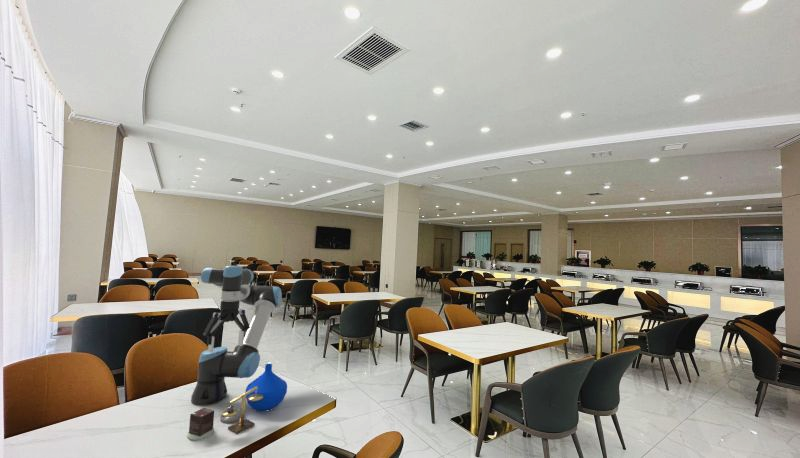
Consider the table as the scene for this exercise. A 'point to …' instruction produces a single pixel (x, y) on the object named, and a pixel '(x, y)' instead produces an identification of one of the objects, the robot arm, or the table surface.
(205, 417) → the box
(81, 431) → the table surface
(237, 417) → the grey plastic dome
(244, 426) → the balance
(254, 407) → the vase
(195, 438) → the mint green rounded dome
